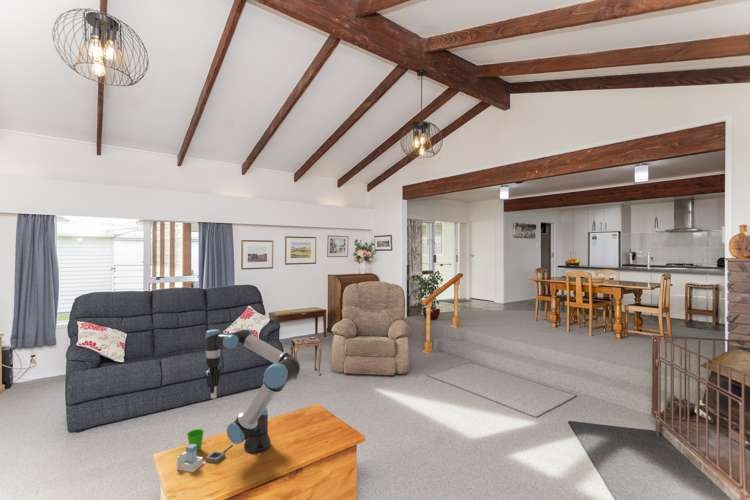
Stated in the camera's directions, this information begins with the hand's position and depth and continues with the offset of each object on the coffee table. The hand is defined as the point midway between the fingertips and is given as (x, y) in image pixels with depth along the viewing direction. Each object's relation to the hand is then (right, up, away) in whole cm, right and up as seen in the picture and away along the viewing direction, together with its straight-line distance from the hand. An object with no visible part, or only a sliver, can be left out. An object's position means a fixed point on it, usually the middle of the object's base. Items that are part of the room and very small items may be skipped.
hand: (213, 397), depth 219 cm
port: (-5, -31, -15) cm, 35 cm away
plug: (-5, -30, -15) cm, 35 cm away
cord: (+7, -31, 0) cm, 32 cm away
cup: (-11, -31, 0) cm, 33 cm away
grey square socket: (+5, -31, -9) cm, 33 cm away
